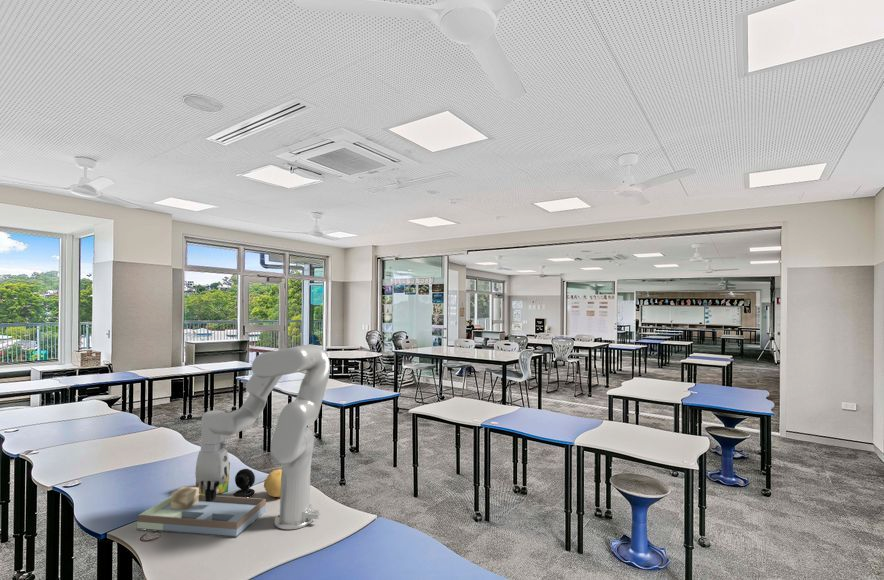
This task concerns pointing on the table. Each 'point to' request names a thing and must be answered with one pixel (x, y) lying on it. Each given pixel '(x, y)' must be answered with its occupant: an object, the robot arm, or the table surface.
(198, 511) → the box
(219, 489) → the chalk box
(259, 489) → the table surface
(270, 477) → the stress ball
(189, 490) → the block
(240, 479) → the webcam
